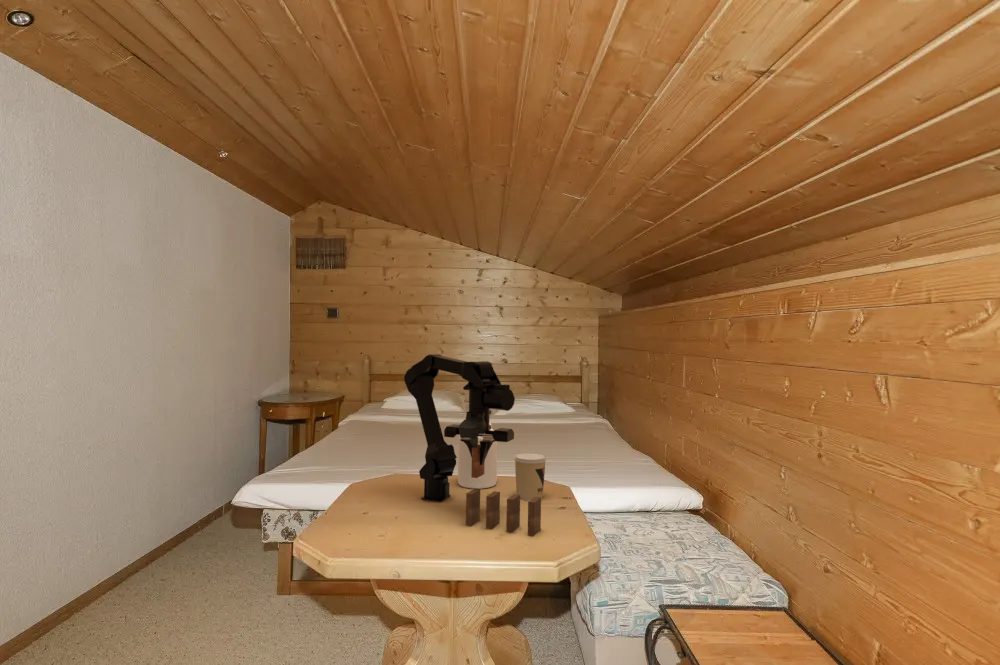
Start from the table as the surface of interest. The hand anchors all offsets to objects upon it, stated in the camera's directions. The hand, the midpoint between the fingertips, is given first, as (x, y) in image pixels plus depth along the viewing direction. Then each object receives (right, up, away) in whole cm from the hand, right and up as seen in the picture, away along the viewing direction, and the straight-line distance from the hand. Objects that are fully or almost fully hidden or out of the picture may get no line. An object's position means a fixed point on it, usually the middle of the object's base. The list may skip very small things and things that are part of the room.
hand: (478, 464), depth 155 cm
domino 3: (+4, -13, -13) cm, 18 cm away
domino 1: (0, -3, 0) cm, 3 cm away
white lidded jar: (-1, -13, +28) cm, 31 cm away
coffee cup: (+15, -13, +14) cm, 24 cm away
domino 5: (+14, -13, -17) cm, 25 cm away
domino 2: (-1, -12, -10) cm, 16 cm away
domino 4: (+9, -13, -15) cm, 21 cm away
